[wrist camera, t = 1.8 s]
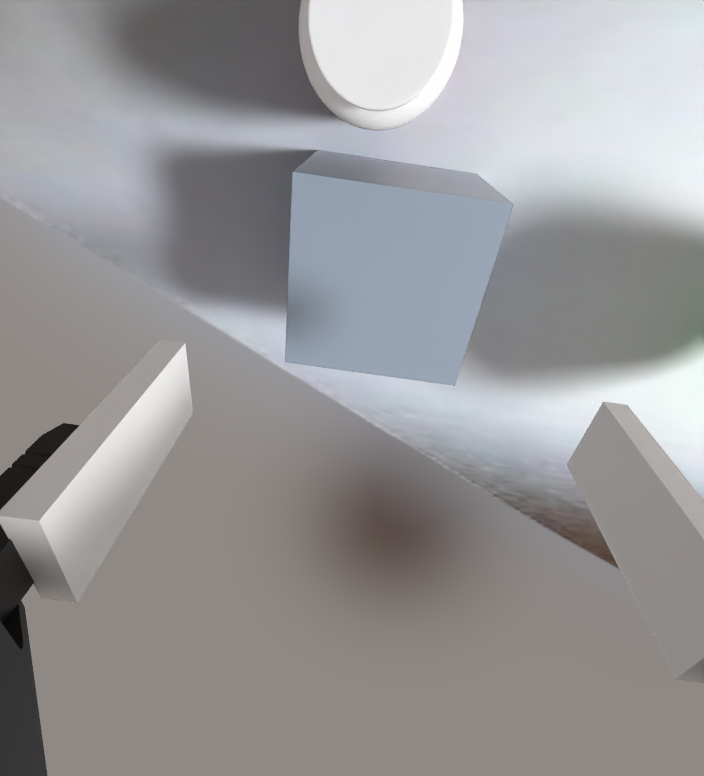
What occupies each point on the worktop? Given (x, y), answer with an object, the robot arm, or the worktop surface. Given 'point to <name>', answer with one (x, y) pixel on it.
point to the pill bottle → (379, 56)
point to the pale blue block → (388, 265)
